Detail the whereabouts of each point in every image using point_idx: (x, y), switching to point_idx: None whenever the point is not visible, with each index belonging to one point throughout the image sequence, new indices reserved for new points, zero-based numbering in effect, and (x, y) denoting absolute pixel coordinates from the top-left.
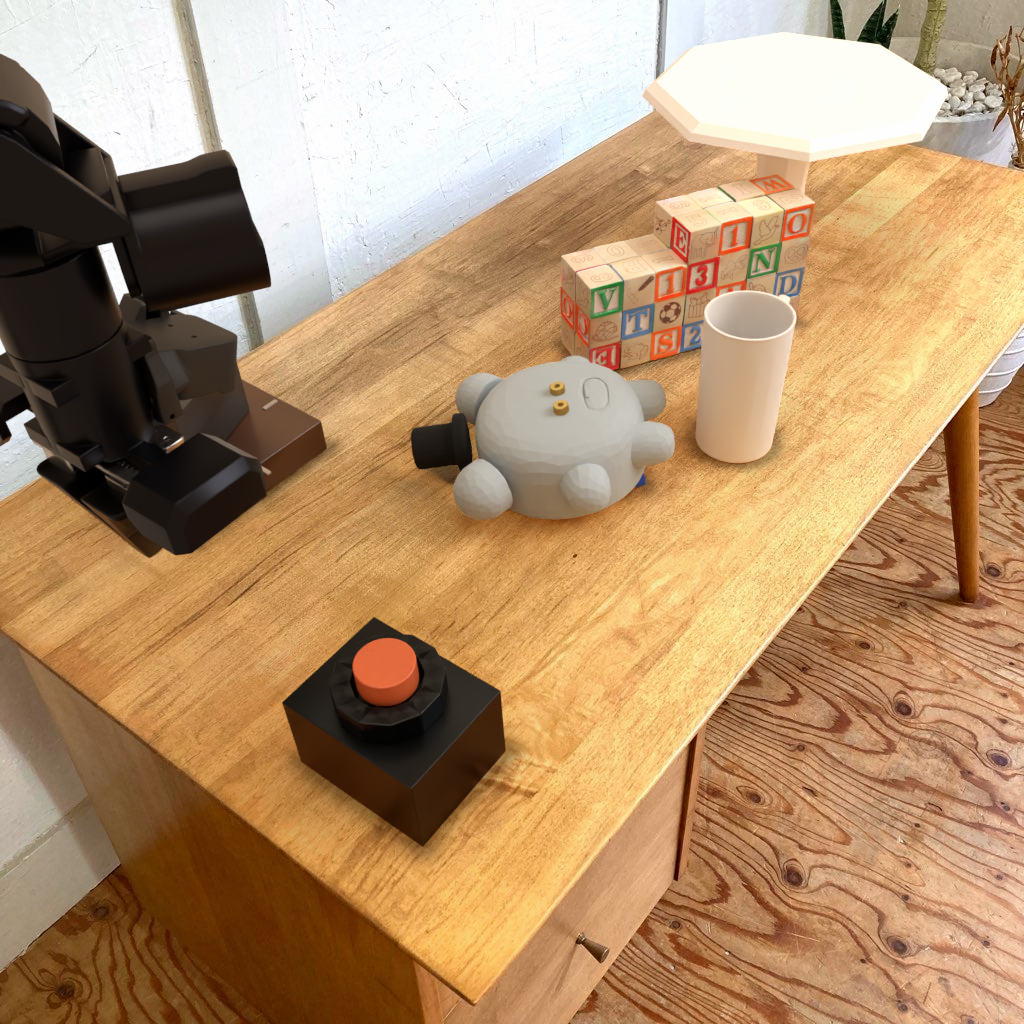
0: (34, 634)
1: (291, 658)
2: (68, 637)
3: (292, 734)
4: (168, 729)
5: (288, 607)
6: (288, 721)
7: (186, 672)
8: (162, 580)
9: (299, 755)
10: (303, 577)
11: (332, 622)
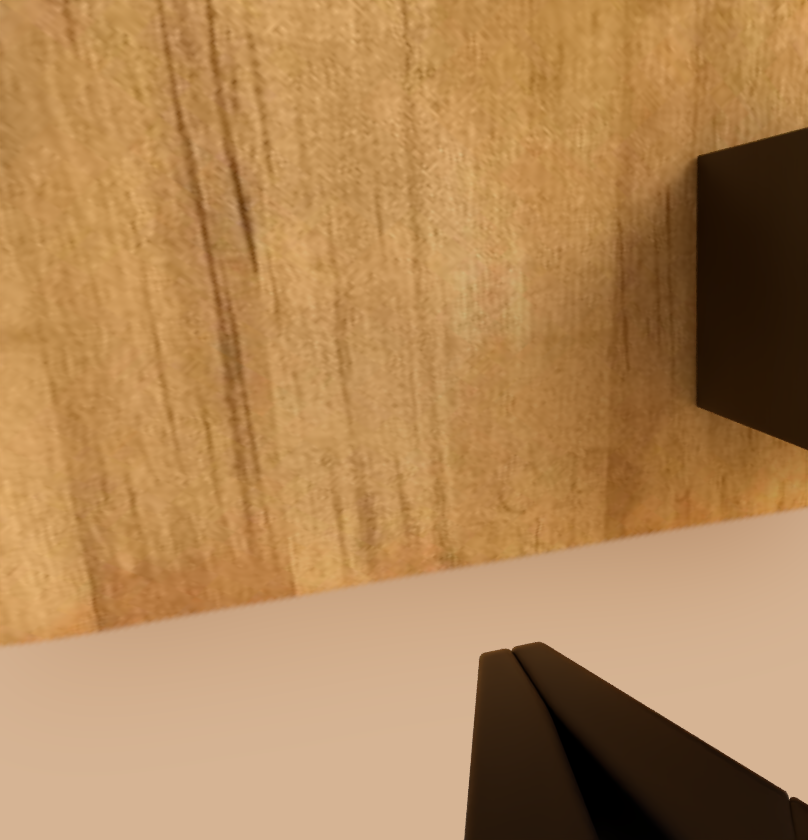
0: (16, 625)
1: (498, 267)
2: (80, 577)
3: (758, 430)
4: (453, 537)
5: (370, 170)
6: (792, 443)
7: (359, 446)
8: (52, 340)
9: (712, 412)
10: (312, 69)
11: (489, 127)
